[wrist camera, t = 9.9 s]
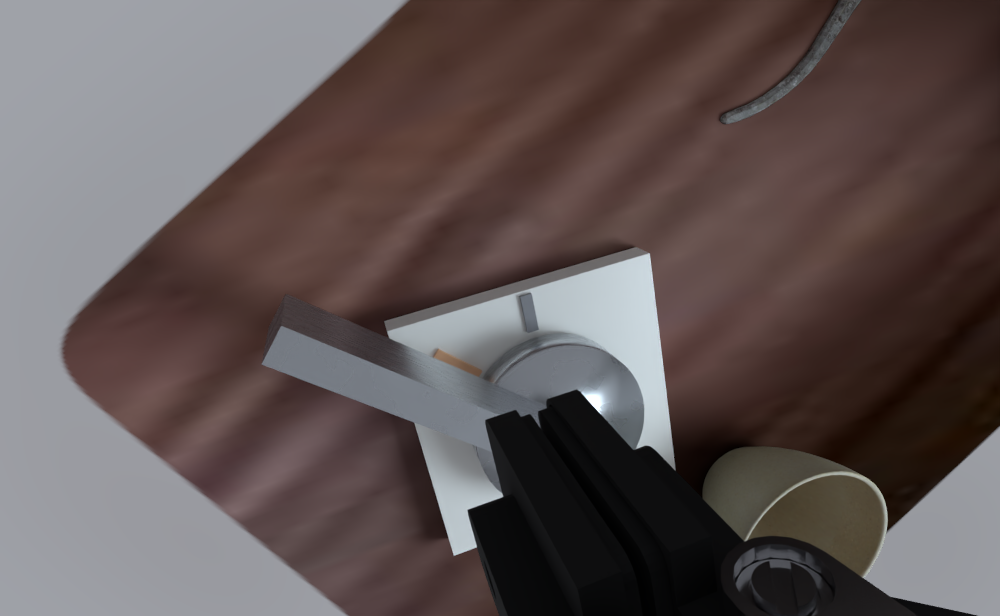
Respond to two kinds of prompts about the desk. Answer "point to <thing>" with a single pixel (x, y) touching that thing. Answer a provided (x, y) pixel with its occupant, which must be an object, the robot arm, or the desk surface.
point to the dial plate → (520, 317)
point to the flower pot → (799, 502)
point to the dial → (450, 377)
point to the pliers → (812, 57)
